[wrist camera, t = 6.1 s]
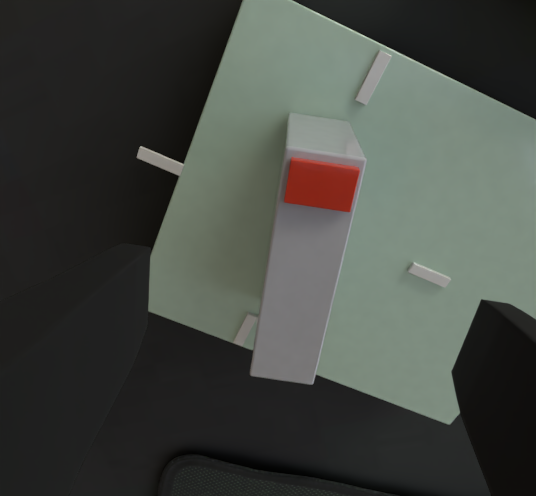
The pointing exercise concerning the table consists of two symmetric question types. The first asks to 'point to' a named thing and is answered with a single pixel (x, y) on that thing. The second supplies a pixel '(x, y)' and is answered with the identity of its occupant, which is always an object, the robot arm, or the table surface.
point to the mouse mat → (244, 481)
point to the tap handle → (306, 245)
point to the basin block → (367, 209)
